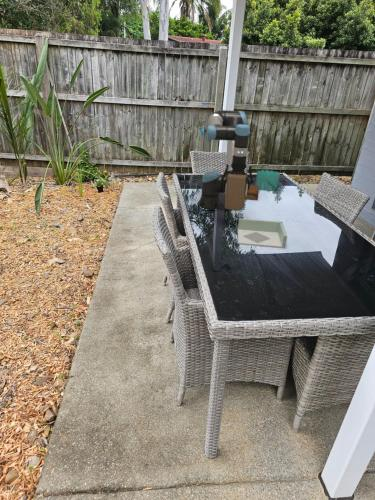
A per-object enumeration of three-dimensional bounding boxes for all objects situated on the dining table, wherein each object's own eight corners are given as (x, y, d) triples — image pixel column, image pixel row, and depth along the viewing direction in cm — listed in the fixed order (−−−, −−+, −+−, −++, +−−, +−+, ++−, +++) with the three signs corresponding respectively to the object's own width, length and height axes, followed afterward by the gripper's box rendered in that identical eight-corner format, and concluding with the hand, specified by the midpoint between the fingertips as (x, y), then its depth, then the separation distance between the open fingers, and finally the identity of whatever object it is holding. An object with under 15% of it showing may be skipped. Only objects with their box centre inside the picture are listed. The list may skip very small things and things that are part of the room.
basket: (260, 183, 280) (263, 168, 274) (281, 187, 270) (283, 172, 265) (251, 188, 266) (253, 172, 260) (272, 192, 256) (274, 176, 250)
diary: (257, 201, 237) (258, 193, 235) (231, 199, 240) (232, 191, 237) (257, 192, 257) (258, 185, 255) (233, 190, 260) (234, 183, 258)
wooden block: (244, 206, 193) (248, 172, 184) (241, 211, 185) (245, 176, 175) (227, 203, 196) (231, 170, 187) (224, 209, 187) (227, 174, 178)
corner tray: (238, 244, 169) (239, 232, 166) (237, 229, 187) (239, 218, 184) (285, 248, 167) (287, 236, 164) (280, 232, 184) (282, 221, 181)
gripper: (218, 155, 174) (215, 194, 184) (262, 157, 172) (256, 197, 182) (218, 152, 181) (215, 190, 191) (261, 155, 178) (255, 193, 189)
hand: (235, 194), depth 187 cm, fingers closed on wooden block, 11 cm apart
